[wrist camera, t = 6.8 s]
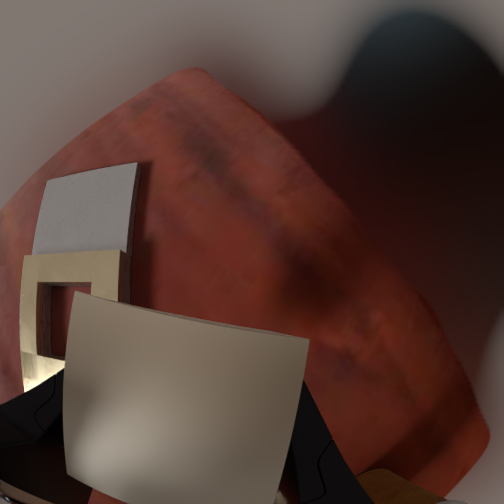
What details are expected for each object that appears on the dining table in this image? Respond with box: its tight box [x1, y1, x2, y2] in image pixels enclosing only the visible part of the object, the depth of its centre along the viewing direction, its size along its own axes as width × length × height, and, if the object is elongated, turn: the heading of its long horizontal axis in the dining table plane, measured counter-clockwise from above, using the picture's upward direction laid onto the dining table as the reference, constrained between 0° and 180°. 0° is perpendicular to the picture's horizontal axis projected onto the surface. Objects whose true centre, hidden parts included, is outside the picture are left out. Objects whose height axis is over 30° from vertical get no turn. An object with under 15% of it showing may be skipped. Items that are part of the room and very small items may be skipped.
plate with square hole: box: [20, 162, 141, 392], centre depth 19 cm, size 30×12×2 cm, turn 3°
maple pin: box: [63, 291, 310, 504], centre depth 9 cm, size 5×5×11 cm
